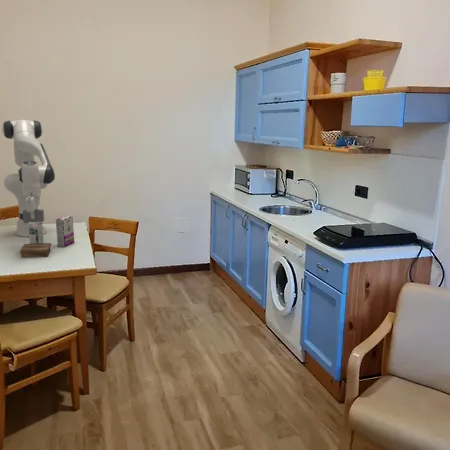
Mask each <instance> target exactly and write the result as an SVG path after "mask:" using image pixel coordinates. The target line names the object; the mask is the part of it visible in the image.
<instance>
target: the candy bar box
mask: <svg viewBox="0 0 450 450" xmlns="http://www.w3.org/2000/svg"><path fill="white" fill-rule="evenodd" d="M55 224H56V225H55V226H56V229H55V230H56V239H57V247H60V248H65V247H66V248H67V246H70V245H72V244H74V243H75V235H74V234H75V232H74V218H73V216H72V215H63V216H62V217H59V218H57V219H55Z"/></svg>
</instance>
